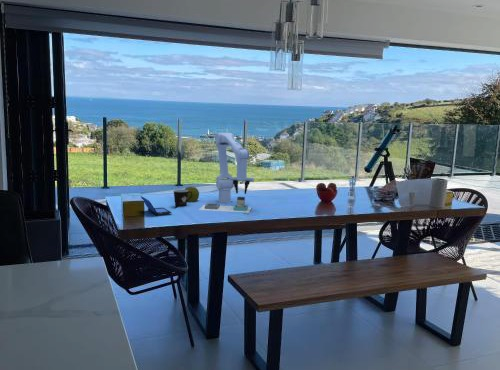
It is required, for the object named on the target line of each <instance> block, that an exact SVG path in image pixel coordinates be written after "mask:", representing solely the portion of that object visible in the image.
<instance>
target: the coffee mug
mask: <svg viewBox="0 0 500 370" xmlns="http://www.w3.org/2000/svg"><path fill="white" fill-rule="evenodd" d="M184 189H185V188H184ZM184 189H182V188H181V189H173V198H174V205H175V206H174V207H175V208H176V209H178V208H179V207H180V208H181V207H183V208H184V207H187V206H188V205H187V203H188V202H187V201H188V200H189V199H190V198H191V197H192V192H188V190H184ZM188 193H191V197H190V198H189V199H188V200H187V197H188Z"/></svg>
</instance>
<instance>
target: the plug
mask: <svg viewBox="0 0 500 370" xmlns="http://www.w3.org/2000/svg"><path fill="white" fill-rule="evenodd" d="M236 205H237V207H244V208H245V205H246V197H245V196H237V198H236Z"/></svg>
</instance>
